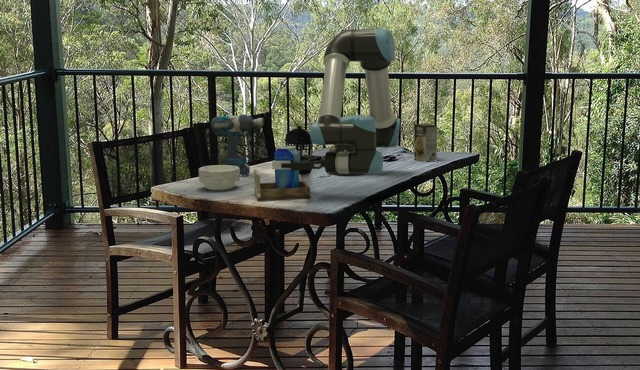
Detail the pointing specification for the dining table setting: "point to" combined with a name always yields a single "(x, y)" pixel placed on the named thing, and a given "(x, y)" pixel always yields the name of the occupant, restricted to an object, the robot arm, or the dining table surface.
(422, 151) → the coffee box
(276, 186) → the beer can
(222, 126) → the cordless power drill
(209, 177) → the paper bowls
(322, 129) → the robot arm
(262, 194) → the open wooden box
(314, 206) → the dining table surface
